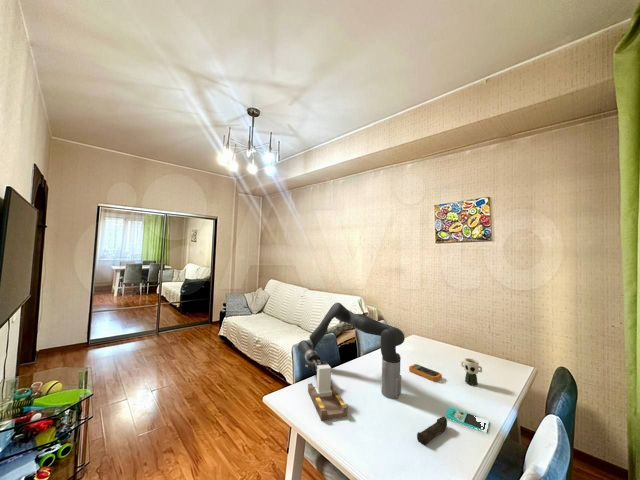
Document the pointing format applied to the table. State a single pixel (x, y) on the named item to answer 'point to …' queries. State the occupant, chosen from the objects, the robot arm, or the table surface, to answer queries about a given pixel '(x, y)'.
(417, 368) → the multimeter
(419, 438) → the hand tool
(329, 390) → the switch tab
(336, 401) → the switch housing
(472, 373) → the character mug
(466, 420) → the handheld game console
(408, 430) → the table surface
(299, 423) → the table surface
